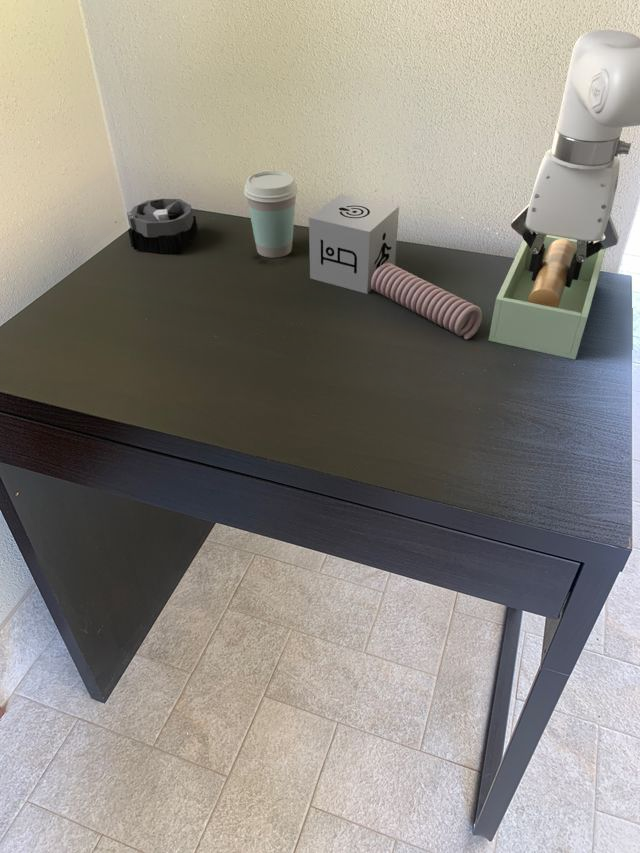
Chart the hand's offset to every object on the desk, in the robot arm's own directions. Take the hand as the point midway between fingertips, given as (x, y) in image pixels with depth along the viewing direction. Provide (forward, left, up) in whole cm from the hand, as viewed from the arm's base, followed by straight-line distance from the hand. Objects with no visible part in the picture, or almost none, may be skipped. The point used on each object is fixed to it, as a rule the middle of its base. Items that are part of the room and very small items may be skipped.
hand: (552, 278), depth 96 cm
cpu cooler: (+64, +2, -5) cm, 64 cm away
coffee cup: (+45, -2, -5) cm, 45 cm away
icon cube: (+30, 0, -5) cm, 30 cm away
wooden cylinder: (-1, 0, -1) cm, 2 cm away
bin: (0, 0, -5) cm, 5 cm away
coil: (+16, +7, -5) cm, 19 cm away
